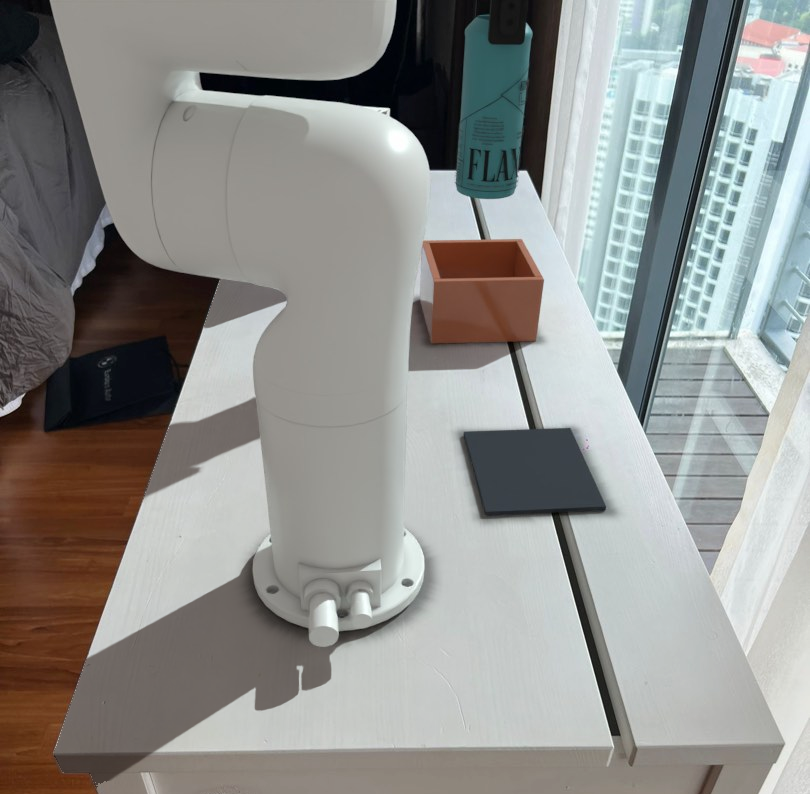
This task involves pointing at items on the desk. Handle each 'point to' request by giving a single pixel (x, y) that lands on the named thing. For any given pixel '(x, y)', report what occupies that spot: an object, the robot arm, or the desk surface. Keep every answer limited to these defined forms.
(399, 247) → the robot arm
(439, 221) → the desk surface
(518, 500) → the mat
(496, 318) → the holder
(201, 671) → the desk surface
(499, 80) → the beverage bottle
